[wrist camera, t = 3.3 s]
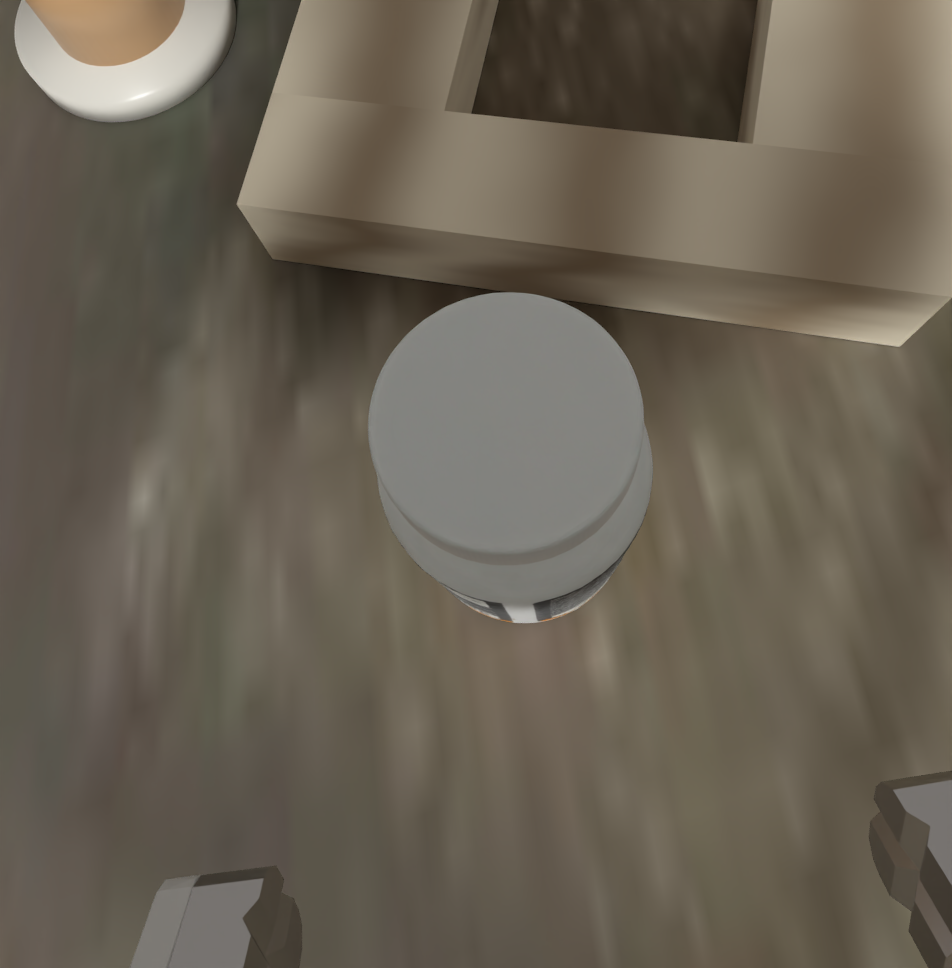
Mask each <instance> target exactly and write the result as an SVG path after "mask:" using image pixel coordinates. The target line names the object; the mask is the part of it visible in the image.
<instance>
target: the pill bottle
mask: <svg viewBox="0 0 952 968" xmlns="http://www.w3.org/2000/svg"><path fill="white" fill-rule="evenodd" d="M368 438H369V446H370V451H371V456H372V460H373V464H374V467H375V470H376V473H377V479H378V487H379V494H380V498H381V502H382V505H383V508H384V512H385V515H386V518H387V520H388V522H389V524H390V527H391V530H392V531H393V533H394V534H395V536H396V537H397V539H398V541H399V542H400V544H401V545H402V547H403V548H404V549H405V550H406V551H407V553H408V554H409V555H410V556H411V558H412V559H413V560H414V561H415V563H416V564H417V565H418V566H419V567H420V568H421V569H422V570H424V571H425V572H426V573H428V574H429V575H430V576H432V577H433V578H434V579H435V580H437V581H438V582H439V583H440V584H442V585H443V586H444V587H445V588H446V589H447V590H448V591H450V592H451V593H452V594H453V595H454V596H455V597H457V598H458V599H459V600H460V601H462V602H463V603H464V604H466V605H468V606H469V607H471V608H472V609H474V610H476V611H477V612H480V613H482V614H484V615H486V616H489V617H492V618H495V619H499V620H502V621H507V622H513V623H535V622H542V621H547V620H551V619H555V618H558V617H561V616H563V615H565V614H568V613H570V612H572V611H574V610H576V609H577V608H579V607H581V606H582V605H583V604H585V603H586V602H587V601H589V600H590V599H591V598H592V597H593V596H594V595H596V594H597V593H598V591H599V590H600V589H601V588H602V587H603V586H604V584H605V583H606V582H607V581H608V579H609V578H610V576H611V575H612V573H613V572H614V571H615V569H616V568H617V566H618V564H619V563H620V562H621V560H622V557H623V555H624V554H625V552H626V551H627V550H628V548H629V547H630V545H631V543H632V541H633V540H634V538H635V537H636V535H637V533H638V531H639V529H640V527H641V525H642V523H643V520H644V517H645V514H646V511H647V507H648V504H649V499H650V494H651V488H652V478H653V461H652V453H651V447H650V442H649V438H648V434H647V431H646V427H645V425H644V408H643V402H642V395H641V392H640V388H639V384H638V381H637V378H636V375H635V373H634V370H633V368H632V366H631V364H630V362H629V360H628V358H627V357H626V355H625V354H624V352H623V351H622V349H621V348H620V347H619V345H618V344H617V343H616V341H615V340H614V339H613V338H612V337H611V336H610V334H609V333H608V332H607V331H606V330H605V329H604V328H603V327H602V326H601V325H599V324H598V323H597V322H596V321H595V320H593V319H592V318H591V317H589V316H587V315H586V314H584V313H583V312H581V311H579V310H578V309H576V308H574V307H572V306H570V305H568V304H565V303H563V302H560V301H557V300H555V299H552V298H548V297H544V296H540V295H535V294H528V293H514V292H504V293H490V294H484V295H478V296H475V297H471V298H467V299H464V300H461V301H458V302H456V303H453V304H451V305H448V306H446V307H444V308H442V309H441V310H439V311H437V312H436V313H434V314H432V315H431V316H429V317H428V318H426V319H424V320H423V321H422V322H421V323H419V324H418V325H417V326H416V327H415V328H414V329H412V330H411V331H410V332H409V333H408V334H407V335H406V336H405V337H404V338H403V339H402V341H401V342H400V343H399V344H398V345H397V346H396V347H395V349H394V350H393V352H392V353H391V354H390V356H389V358H388V359H387V361H386V363H385V364H384V366H383V368H382V370H381V372H380V374H379V377H378V379H377V381H376V384H375V388H374V391H373V394H372V398H371V403H370V409H369V417H368Z"/></svg>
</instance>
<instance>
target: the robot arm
mask: <svg viewBox="0 0 952 968" xmlns="http://www.w3.org/2000/svg"><path fill="white" fill-rule="evenodd" d="M874 801H875V803H876V804H877V806H878V808H879V810H880V812H879V813H878V814H877V815H876V816H875V817H874V818H873V819H872V820H871V821H870V829H869V841H870V846H871V851H872V856H873V860H874V862H875V865H876V868H877V870H878V873H879V875H880V877H881V879H882V881H883V883H884V885H885V887H886V889H887V891H888V893H889V895H890V896H891V897H892V898H894V899H895V900H896V901H898V902H899V903H901V904H902V905H903V906H905V907H906V908H907V909H909V910H910V911H911V919H910V925H909V933H910V935H911V936H912V938H913V940H914V942H915V944H916V946H917V948H918V949H919V951H920V953H921V955H922V957H923V959H924V961H925V962H926V964H927V966H928V968H952V771H947V772H940V773H934V774H927V775H921V776H914V777H908V778H902V779H895V780H889V781H882V782H880V783H879V784H878V785H877V786H876V789H875V795H874ZM283 882H284V878H283V877H282V875H281V873H280V871H279V870H278V868H277V866H269V867H261V868H253V869H245V870H237V871H229V872H222V873H214V874H201V875H194V876H187V877H180V878H173V879H166V880H165V881H164V883H163V884H162V885H161V887H160V888H159V890H158V891H157V893H156V894H155V897H154V900H153V903H152V906H151V908H150V911H149V914H148V917H147V920H146V923H145V925H144V928H143V931H142V934H141V937H140V940H139V942H138V945H137V948H136V951H135V954H134V957H133V959H132V962H131V965H130V968H299V966H300V959H301V953H302V923H301V918H300V913H299V909H298V907H297V905H296V903H295V900H294V898H292V897H290V896H288V895H286V894H284V893H282V888H283Z"/></svg>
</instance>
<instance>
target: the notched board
mask: <svg viewBox="0 0 952 968" xmlns="http://www.w3.org/2000/svg"><path fill="white" fill-rule="evenodd" d="M498 2H499V0H302V1H301V4H300V7H299V10H298V13H297V16H296V20H295V23H294V26H293V29H292V32H291V35H290V38H289V42H288V45H287V48H286V51H285V54H284V57H283V60H282V63H281V67H280V70H279V73H278V76H277V79H276V82H275V85H274V89H273V92H272V95H271V98H270V101H269V104H268V107H267V111H266V114H265V117H264V120H263V123H262V126H261V129H260V133H259V136H258V139H257V142H256V145H255V148H254V151H253V155H252V158H251V161H250V164H249V167H248V170H247V173H246V177H245V180H244V183H243V186H242V189H241V192H240V195H239V198H238V202H237V206H238V207H239V209H240V210H241V212H242V213H243V215H244V216H245V218H246V219H247V221H248V222H249V224H250V225H251V227H252V228H253V230H254V231H255V233H256V235H257V236H258V238H259V239H260V241H261V242H262V244H263V245H264V247H265V248H266V250H267V251H268V253H269V254H270V256H271V257H272V259H275V260H282V261H290V262H297V263H304V264H311V265H318V266H325V267H332V268H340V269H347V270H354V271H361V272H368V273H375V274H382V275H390V276H397V277H404V278H411V279H418V280H425V281H432V282H440V283H447V284H454V285H461V286H468V287H475V288H482V289H490V290H497V291H504V292H514V293H528V294H535V295H540V296H544V297H548V298H554V299H561V300H568V301H575V302H582V303H590V304H597V305H604V306H611V307H618V308H625V309H632V310H640V311H647V312H654V313H661V314H668V315H675V316H682V317H690V318H697V319H704V320H711V321H718V322H725V323H732V324H740V325H747V326H754V327H761V328H768V329H775V330H782V331H790V332H797V333H804V334H811V335H818V336H825V337H832V338H840V339H847V340H854V341H861V342H868V343H875V344H882V345H890V346H897V347H900V346H901V345H902V344H903V343H904V342H905V341H906V340H907V339H908V338H909V337H910V336H911V335H913V334H914V333H915V332H916V331H917V330H918V329H919V328H920V327H921V326H922V325H923V324H924V323H925V322H926V321H927V320H929V319H930V318H931V317H932V316H933V315H934V314H935V313H936V312H937V311H938V310H939V309H940V308H941V307H942V306H943V305H944V304H946V303H947V302H948V301H949V300H950V299H951V298H952V0H758V1H757V8H756V15H755V22H754V29H753V36H752V43H751V50H750V57H749V64H748V71H747V78H746V85H745V92H744V99H743V106H742V113H741V120H740V127H739V134H738V141H737V142H731V141H722V140H713V139H703V138H694V137H684V136H675V135H666V134H656V133H647V132H638V131H628V130H619V129H609V128H600V127H591V126H581V125H572V124H563V123H553V122H544V121H535V120H525V119H516V118H506V117H497V116H488V115H478V114H471V113H472V109H473V105H474V100H475V96H476V92H477V88H478V84H479V80H480V76H481V72H482V67H483V63H484V59H485V55H486V51H487V47H488V43H489V39H490V35H491V30H492V26H493V22H494V18H495V14H496V10H497V6H498Z"/></svg>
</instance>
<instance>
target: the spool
mask: <svg viewBox="0 0 952 968" xmlns="http://www.w3.org/2000/svg"><path fill="white" fill-rule="evenodd" d="M235 28H236V6H235V2H234V0H21V3H20V6H19V9H18V12H17V16H16V21H15V34H14V35H15V45H16V49H17V52H18V56H19V58H20V60H21V62H22V64H23V66H24V68H25V69H26V70H27V72H28V73H29V75H30V76H31V77H32V78H33V79H34V80H35V82H36V83H37V84H38V85H39V86H40V87H41V89H42V90H43V91H44V92H45V93H46V94H47V96H48V97H49V98H50V99H51V100H52V101H53V102H54V103H55V104H57V105H58V106H60V107H61V108H62V109H64V110H65V111H67V112H69V113H72V114H74V115H76V116H79V117H82V118H85V119H88V120H94V121H99V122H127V121H133V120H138V119H143V118H146V117H150V116H153V115H156V114H158V113H161V112H163V111H166V110H168V109H170V108H172V107H174V106H176V105H177V104H179V103H181V102H183V101H184V100H185V99H187V98H188V97H190V96H191V95H193V94H194V93H195V92H196V91H198V90H199V89H200V88H201V87H202V86H203V85H204V84H205V83H206V82H207V81H208V80H209V79H210V78H211V77H212V76H213V75H214V73H215V72H216V71H217V69H218V68H219V67H220V65H221V64H222V62H223V60H224V59H225V57H226V55H227V53H228V51H229V49H230V46H231V44H232V41H233V37H234V33H235Z"/></svg>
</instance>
